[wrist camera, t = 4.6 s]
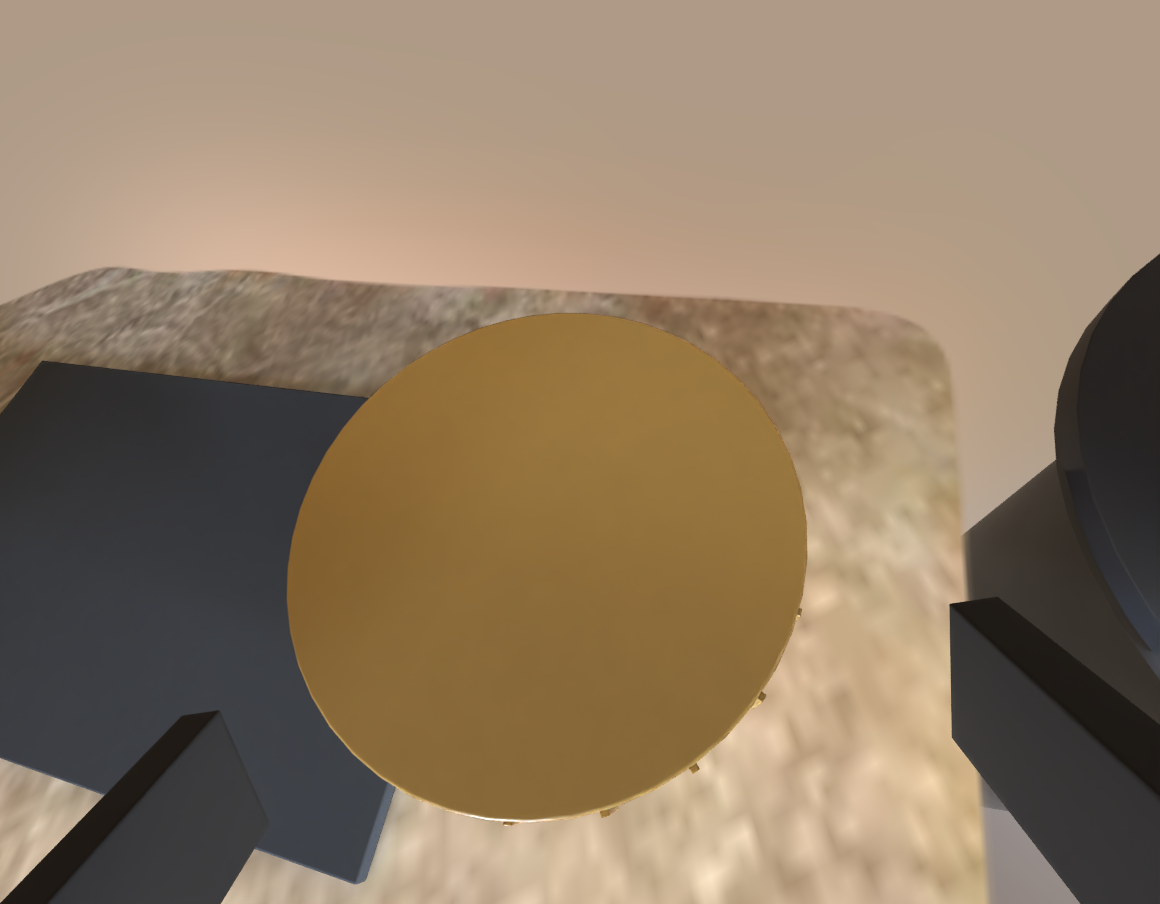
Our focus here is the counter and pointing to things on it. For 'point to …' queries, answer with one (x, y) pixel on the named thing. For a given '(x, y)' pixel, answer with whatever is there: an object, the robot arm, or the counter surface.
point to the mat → (170, 591)
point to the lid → (547, 568)
